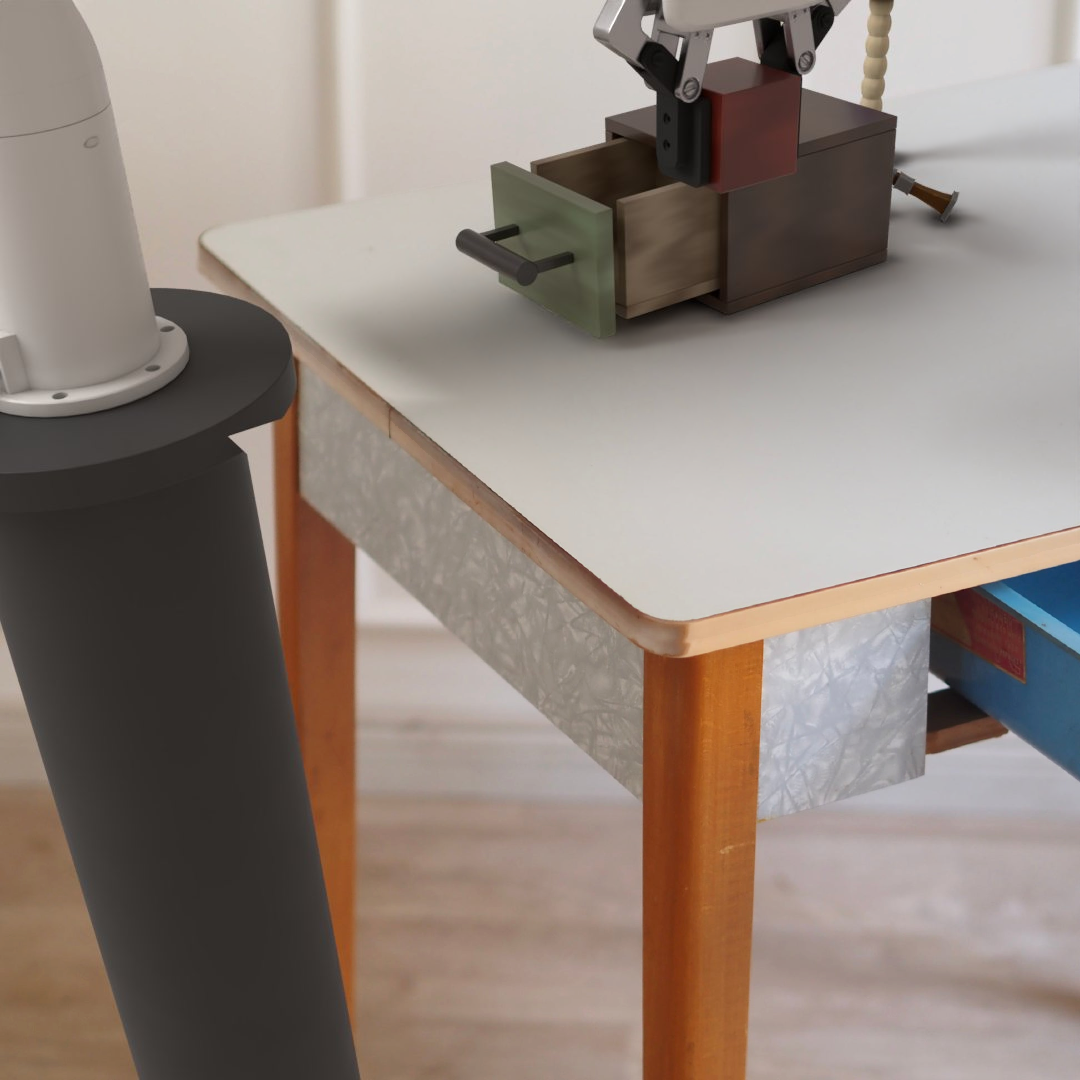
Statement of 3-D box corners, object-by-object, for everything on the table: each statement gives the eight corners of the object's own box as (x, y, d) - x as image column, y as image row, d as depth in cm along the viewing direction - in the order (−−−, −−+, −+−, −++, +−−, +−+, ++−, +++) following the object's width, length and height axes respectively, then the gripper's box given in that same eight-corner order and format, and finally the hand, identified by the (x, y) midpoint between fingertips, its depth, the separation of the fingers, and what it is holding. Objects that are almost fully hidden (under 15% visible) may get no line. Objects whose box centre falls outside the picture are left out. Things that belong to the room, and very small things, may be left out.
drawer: (541, 359, 87) (534, 231, 83) (443, 299, 95) (431, 179, 91) (762, 285, 94) (765, 164, 90) (652, 235, 103) (651, 122, 98)
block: (721, 194, 68) (723, 95, 66) (661, 169, 71) (661, 73, 69) (796, 173, 70) (801, 76, 68) (734, 149, 73) (737, 56, 71)
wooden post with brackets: (828, 194, 107) (857, 138, 105) (928, 244, 107) (960, 189, 104) (824, 202, 106) (854, 146, 103) (926, 253, 106) (958, 198, 103)
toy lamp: (893, 149, 118) (910, -77, 109) (908, 168, 114) (927, -64, 105) (832, 153, 118) (844, -72, 109) (846, 172, 114) (859, -60, 105)
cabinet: (727, 315, 93) (729, 164, 88) (608, 257, 102) (604, 117, 97) (887, 260, 99) (897, 115, 94) (762, 210, 108) (765, 76, 103)
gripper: (833, -292, 67) (810, 113, 77) (514, -259, 60) (534, 185, 69) (958, -286, 62) (916, 149, 72) (625, -248, 54) (629, 232, 64)
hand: (728, 163), depth 70 cm, fingers closed on block, 4 cm apart
